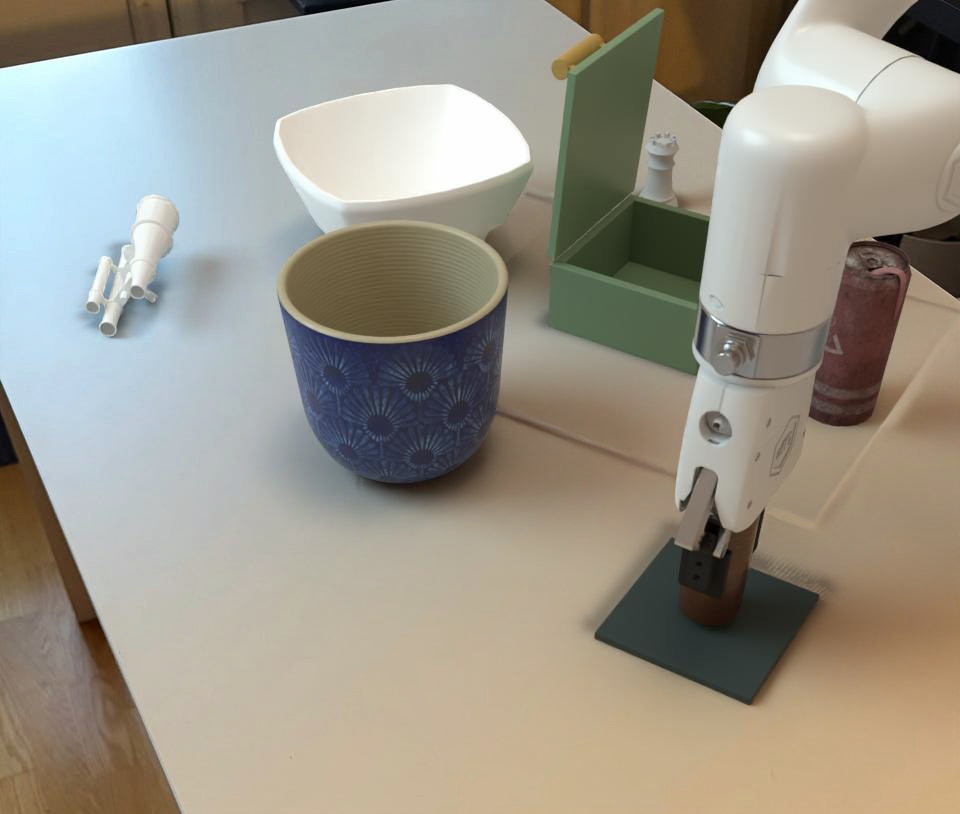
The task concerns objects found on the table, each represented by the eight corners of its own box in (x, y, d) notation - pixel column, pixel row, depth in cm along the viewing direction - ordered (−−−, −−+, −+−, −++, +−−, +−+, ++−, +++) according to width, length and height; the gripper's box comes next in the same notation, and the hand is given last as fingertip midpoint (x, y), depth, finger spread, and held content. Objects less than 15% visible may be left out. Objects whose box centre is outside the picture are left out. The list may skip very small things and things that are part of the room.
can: (849, 445, 100) (891, 288, 89) (784, 414, 103) (817, 258, 92) (887, 412, 103) (933, 256, 92) (823, 383, 106) (860, 228, 95)
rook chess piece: (625, 220, 124) (631, 140, 118) (647, 202, 127) (654, 123, 120) (663, 232, 123) (672, 152, 116) (685, 214, 125) (694, 134, 119)
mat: (818, 600, 88) (820, 594, 88) (749, 705, 82) (751, 699, 82) (670, 542, 93) (671, 536, 92) (593, 638, 86) (594, 632, 86)
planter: (363, 542, 93) (344, 368, 81) (267, 429, 102) (237, 258, 91) (547, 466, 99) (554, 294, 87) (440, 366, 108) (433, 198, 96)
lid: (665, 9, 101) (616, -7, 102) (576, 74, 93) (525, 56, 94) (634, 190, 113) (591, 174, 114) (554, 260, 105) (509, 242, 107)
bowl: (340, 342, 111) (326, 219, 102) (266, 232, 124) (248, 114, 115) (558, 287, 116) (563, 165, 107) (465, 187, 129) (463, 71, 120)
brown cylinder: (750, 597, 87) (772, 497, 80) (724, 634, 84) (744, 535, 77) (694, 575, 88) (711, 475, 81) (667, 611, 86) (682, 511, 79)
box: (764, 305, 114) (777, 235, 108) (694, 384, 106) (704, 312, 101) (624, 263, 119) (630, 193, 114) (547, 335, 111) (550, 264, 106)
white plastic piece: (129, 354, 113) (78, 319, 110) (150, 275, 122) (102, 241, 119) (177, 296, 109) (124, 258, 106) (194, 219, 118) (146, 182, 115)
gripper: (760, 425, 64) (713, 664, 78) (877, 280, 73) (816, 517, 87) (633, 381, 66) (609, 620, 80) (761, 246, 75) (720, 482, 89)
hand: (717, 565), depth 83 cm, fingers closed on brown cylinder, 4 cm apart
